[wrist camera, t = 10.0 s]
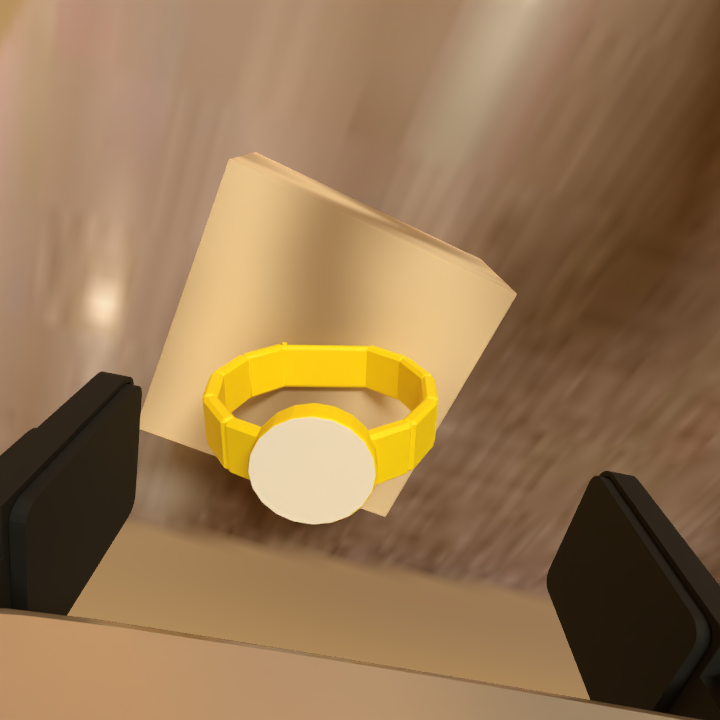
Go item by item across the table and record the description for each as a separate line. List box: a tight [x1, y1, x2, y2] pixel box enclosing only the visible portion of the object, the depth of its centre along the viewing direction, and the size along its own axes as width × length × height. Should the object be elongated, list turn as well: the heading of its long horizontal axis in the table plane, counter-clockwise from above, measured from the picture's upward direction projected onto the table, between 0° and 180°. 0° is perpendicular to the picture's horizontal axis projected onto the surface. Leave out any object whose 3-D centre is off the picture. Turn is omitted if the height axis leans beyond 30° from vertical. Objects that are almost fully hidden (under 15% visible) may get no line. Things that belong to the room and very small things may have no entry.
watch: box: [202, 342, 438, 524], centre depth 14 cm, size 6×3×6 cm, turn 88°
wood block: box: [140, 152, 517, 517], centre depth 19 cm, size 9×9×5 cm
